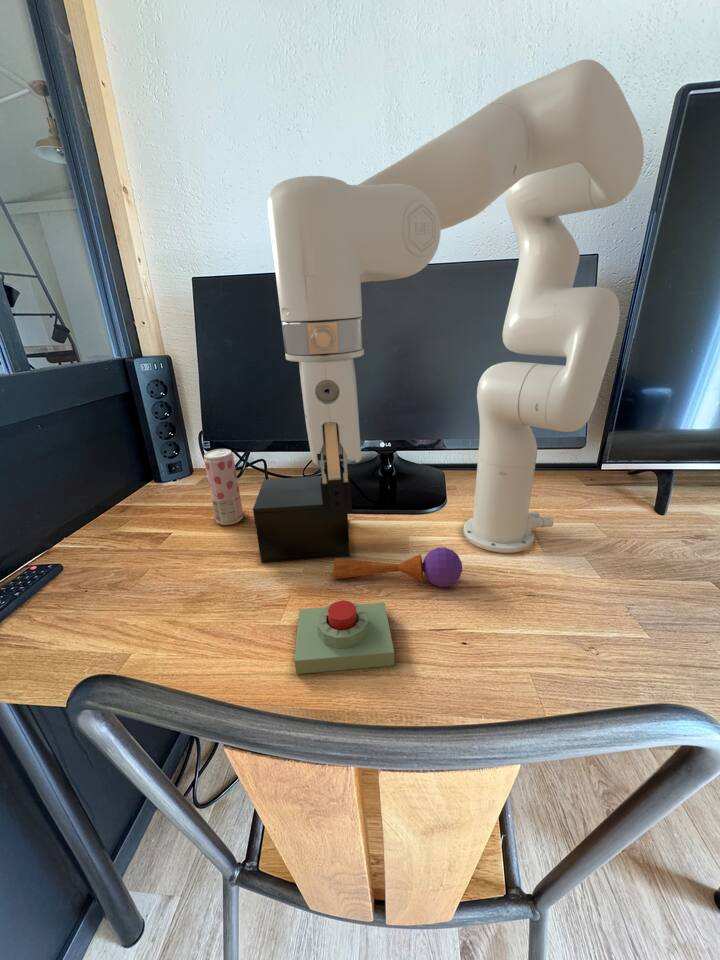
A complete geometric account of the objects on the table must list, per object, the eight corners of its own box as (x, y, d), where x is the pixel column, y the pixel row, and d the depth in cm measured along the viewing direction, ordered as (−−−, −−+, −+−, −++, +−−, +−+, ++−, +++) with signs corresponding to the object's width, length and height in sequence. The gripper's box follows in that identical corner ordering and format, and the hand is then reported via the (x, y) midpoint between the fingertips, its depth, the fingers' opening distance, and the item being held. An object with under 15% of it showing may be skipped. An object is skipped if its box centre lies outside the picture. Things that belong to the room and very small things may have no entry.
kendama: (337, 544, 67) (459, 541, 64) (341, 577, 68) (460, 575, 65) (329, 559, 61) (463, 556, 58) (333, 594, 63) (464, 593, 59)
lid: (348, 478, 79) (347, 455, 77) (351, 506, 67) (350, 480, 65) (264, 483, 78) (261, 460, 76) (253, 513, 66) (249, 487, 64)
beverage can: (247, 513, 88) (237, 448, 82) (237, 526, 82) (225, 457, 76) (223, 512, 88) (210, 448, 82) (211, 525, 83) (197, 457, 77)
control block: (384, 614, 57) (384, 591, 56) (394, 665, 49) (394, 640, 47) (300, 621, 56) (297, 598, 55) (296, 674, 48) (292, 649, 47)
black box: (346, 521, 82) (344, 478, 79) (349, 556, 71) (347, 507, 67) (270, 527, 82) (264, 483, 78) (261, 563, 70) (253, 513, 66)
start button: (355, 609, 53) (355, 599, 52) (357, 629, 50) (357, 618, 49) (328, 611, 53) (327, 601, 52) (328, 632, 49) (327, 621, 49)
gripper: (371, 345, 31) (378, 544, 39) (357, 333, 45) (364, 481, 52) (274, 351, 31) (300, 551, 38) (290, 337, 44) (307, 486, 52)
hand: (337, 510), depth 45 cm, fingers closed
